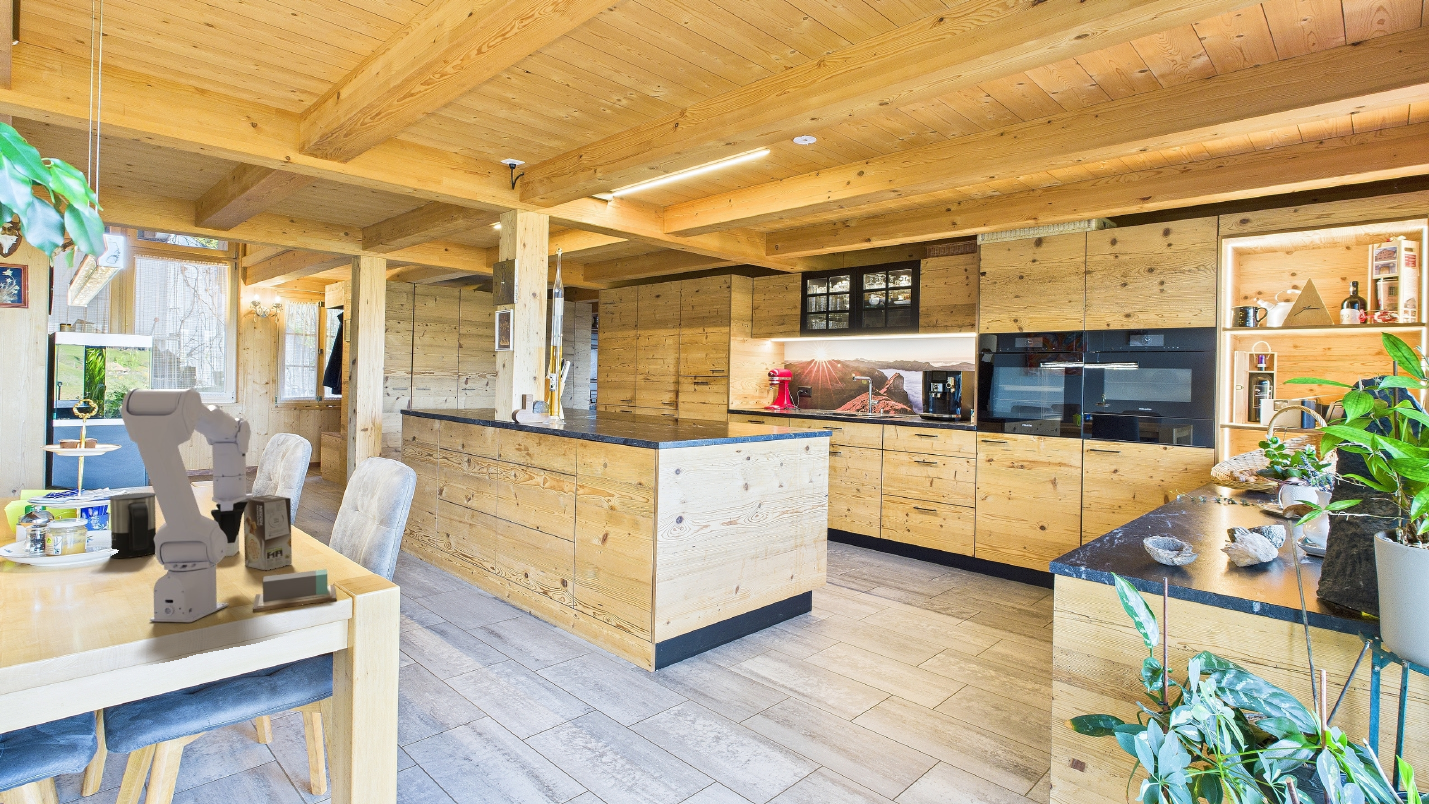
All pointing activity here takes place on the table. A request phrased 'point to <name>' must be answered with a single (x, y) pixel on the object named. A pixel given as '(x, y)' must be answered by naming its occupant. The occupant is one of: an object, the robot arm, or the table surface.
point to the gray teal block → (294, 585)
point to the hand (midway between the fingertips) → (230, 539)
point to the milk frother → (133, 524)
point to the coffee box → (267, 532)
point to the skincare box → (232, 545)
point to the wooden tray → (293, 600)
